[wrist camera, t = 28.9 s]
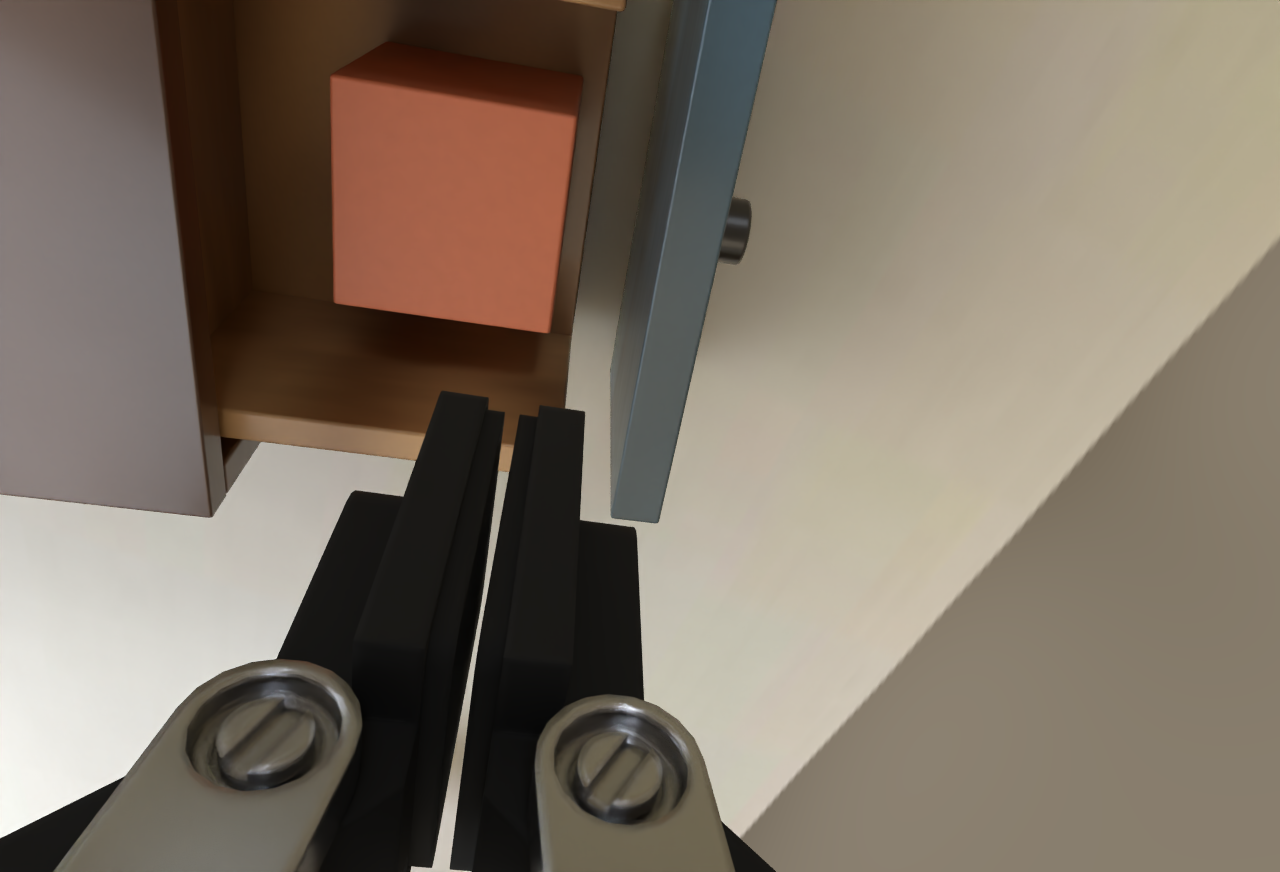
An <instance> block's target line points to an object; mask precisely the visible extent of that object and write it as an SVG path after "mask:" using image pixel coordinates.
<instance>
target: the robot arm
mask: <svg viewBox="0 0 1280 872" xmlns="http://www.w3.org/2000/svg"><path fill="white" fill-rule="evenodd" d="M488 404H489V397H483V396H476V395H470V394H463V393H456V392H449V391H441V392H440V395H439V397H438V400H437V403H436V406H435V409H434V412H433V414H432V417H431V420H430V423H429V426H428V429H427V431H426V434H425V437H424V440H423V443H422V446H421V449H420V451H419V454H418V457H417V460H416V463H415V466H414V468H413V471H412V474H411V477H410V480H409V483H408V485H407V488H406V491H405V494H404V497H401V496H393V495H386V494H378V493H371V492H363V491H356V490H355V491H354V492H352V493H351V494H350V496H349V498H348V500H347V502H346V504H345V506H344V508H343V511H342V513H341V515H340V517H339V520H338V522H337V524H336V526H335V529H334V531H333V533H332V535H331V538H330V540H329V542H328V544H327V546H326V549H325V551H324V553H323V555H322V558H321V560H320V562H319V564H318V567H317V569H316V571H315V573H314V576H313V578H312V580H311V582H310V585H309V587H308V589H307V591H306V594H305V596H304V598H303V600H302V603H301V605H300V607H299V609H298V612H297V614H296V616H295V618H294V621H293V623H292V625H291V627H290V630H289V632H288V634H287V636H286V639H285V641H284V643H283V645H282V648H281V650H280V652H279V654H278V656H277V659H275V660H266V661H258V662H251V663H248V664H245V665H242V666H239V667H236V668H233V669H230V670H227V671H224V672H222V673H221V674H219V675H217V676H216V677H214V678H212V679H211V680H209V681H207V682H206V683H204V684H202V685H201V686H199V687H197V688H196V689H195V690H194V691H193V692H192V693H191V694H190V695H189V696H188V697H187V698H186V699H185V700H184V701H183V702H182V703H181V704H180V705H179V706H178V707H177V709H176V710H175V711H174V713H173V714H172V715H171V716H170V718H169V719H168V720H167V722H166V723H165V724H164V726H163V727H162V728H161V730H160V731H159V732H158V734H157V735H156V736H155V738H154V739H153V740H152V742H151V743H150V744H149V746H148V747H147V748H146V750H145V751H144V752H143V754H142V755H141V756H140V757H139V759H138V760H137V761H136V763H135V764H134V765H133V767H132V768H131V769H130V771H129V772H128V773H127V775H126V776H125V777H123V778H121V779H119V780H117V781H115V782H113V783H111V784H109V785H107V786H105V787H103V788H101V789H99V790H97V791H95V792H93V793H91V794H89V795H87V796H85V797H83V798H81V799H79V800H77V801H75V802H73V803H71V804H69V805H67V806H65V807H63V808H61V809H59V810H57V811H55V812H53V813H51V814H49V815H47V816H45V817H43V818H41V819H38V820H36V821H34V822H32V823H30V824H28V825H26V826H24V827H22V828H20V829H18V830H16V831H14V832H12V833H10V834H8V835H6V836H4V837H2V838H0V872H410V870H411V866H415V867H427V868H432V865H433V861H434V856H435V851H436V845H437V840H438V835H439V829H440V824H441V818H442V813H443V808H444V802H445V797H446V791H447V786H448V781H449V775H450V770H451V764H452V759H453V754H454V748H455V743H456V738H457V732H458V727H459V721H460V716H461V711H462V705H463V700H464V694H465V689H466V684H467V678H468V673H469V667H470V662H471V657H472V651H473V646H474V640H475V635H476V630H477V624H478V619H479V613H480V607H481V601H482V595H483V588H484V580H485V572H486V564H487V556H488V548H489V540H490V532H491V524H492V516H493V508H494V500H495V492H496V484H497V476H498V467H499V459H500V451H501V443H502V435H503V427H504V419H505V412H501V411H495V410H488ZM584 424H585V412H584V411H577V410H571V409H564V408H557V407H550V406H544V405H540V406H539V412H538V417H535V416H529V415H522V414H520V415H519V420H518V426H517V432H516V437H515V443H514V448H513V454H512V460H511V465H510V471H509V476H508V482H507V487H506V493H505V499H504V504H503V510H502V515H501V521H500V527H499V532H498V538H497V543H496V549H495V554H494V560H493V566H492V571H491V577H490V582H489V588H488V594H487V599H486V605H485V610H484V616H483V621H482V627H481V633H480V639H479V645H478V652H477V658H476V665H475V672H474V680H473V687H472V695H471V703H470V711H469V719H468V727H467V735H466V743H465V751H464V759H463V767H462V775H461V783H460V791H459V799H458V807H457V815H456V823H455V831H454V839H453V847H452V855H451V863H450V869H452V870H464V871H472V872H776V871H775V870H774V869H773V868H772V867H770V866H769V865H768V864H767V863H766V862H765V861H764V860H763V859H762V858H761V857H760V856H759V855H757V854H756V853H755V852H754V851H753V850H752V849H751V848H750V847H749V846H748V845H747V844H745V843H744V842H743V841H742V840H741V839H740V838H739V837H738V836H737V835H736V834H735V833H734V832H732V831H731V830H730V829H729V828H728V827H727V826H726V825H725V824H724V823H723V822H722V821H721V819H720V815H719V811H718V808H717V804H716V801H715V797H714V794H713V790H712V786H711V783H710V779H709V776H708V772H707V768H706V765H705V761H704V759H703V756H702V754H701V752H700V750H699V748H698V746H697V743H696V741H695V739H694V738H693V736H692V735H691V734H690V733H689V732H688V731H687V729H686V728H685V727H684V726H683V725H682V724H681V723H680V721H679V720H678V719H676V718H675V717H673V716H672V715H670V714H669V713H667V712H666V711H664V710H663V709H661V708H660V707H658V706H657V705H654V704H651V703H649V702H646V701H644V689H643V666H642V643H641V619H640V596H639V573H638V550H637V535H636V530H635V528H634V527H627V526H620V525H612V524H605V523H597V522H590V521H582V520H580V505H581V484H582V464H583V444H584Z"/></svg>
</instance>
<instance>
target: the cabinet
mask: <svg viewBox="0 0 1280 872" xmlns="http://www.w3.org/2000/svg"><path fill="white" fill-rule="evenodd" d="M259 444H260V441H252V440H244V439H235V438H227V437H220V429H219V419H218V409H217V398H216V388H215V378H214V368H213V358H212V348H211V338H210V328H209V318H208V308H207V298H206V288H205V278H204V268H203V258H202V248H201V238H200V228H199V218H198V207H197V197H196V187H195V177H194V167H193V157H192V147H191V137H190V127H189V117H188V107H187V97H186V87H185V77H184V67H183V57H182V47H181V37H180V27H179V17H178V6H177V0H0V494H2V495H11V496H20V497H29V498H38V499H47V500H56V501H65V502H74V503H83V504H92V505H101V506H110V507H118V508H127V509H136V510H145V511H154V512H163V513H172V514H181V515H190V516H199V517H208V518H210V517H213V515H214V514H215V512H216V511H217V509H218V507H219V506H220V504H221V503H222V501H223V500H224V498H225V497H226V493H228V491H229V490H230V488H231V487H232V485H233V484H234V482H235V480H236V479H237V477H238V476H239V474H240V473H241V471H242V470H243V468H244V467H245V465H246V464H247V462H248V461H249V459H250V458H251V456H252V454H253V453H254V451H255V450H256V448H257V447H258V445H259Z"/></svg>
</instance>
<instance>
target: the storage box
mask: <svg viewBox="0 0 1280 872" xmlns="http://www.w3.org/2000/svg"><path fill="white" fill-rule="evenodd" d="M626 3H627V0H177V6H178V17H179V27H180V37H181V47H182V57H183V67H184V77H185V87H186V97H187V107H188V117H189V127H190V137H191V147H192V157H193V167H194V177H195V187H196V197H197V207H198V218H199V228H200V238H201V248H202V258H203V268H204V278H205V288H206V298H207V308H208V318H209V328H210V338H211V348H212V358H213V368H214V378H215V388H216V398H217V409H218V419H219V429H220V437H227V438H235V439H244V440H252V441H260V442H268V443H276V444H284V445H293V446H301V447H309V448H317V449H325V450H334V451H342V452H350V453H358V454H366V455H374V456H383V457H391V458H399V459H407V460H415V461H416V460H417V457H418V454H419V451H420V449H421V446H422V443H423V440H424V437H425V434H426V431H427V429H428V426H429V423H430V420H431V417H432V414H433V412H434V409H435V406H436V403H437V400H438V397H439V395H440V392H441V391H449V392H456V393H463V394H470V395H476V396H483V397H489V404H488V410H495V411H501V412H505V419H504V427H503V435H502V443H501V451H500V459H499V467H498V471H505V472H509V471H510V465H511V460H512V454H513V448H514V443H515V437H516V432H517V426H518V420H519V415H520V414H522V415H529V416H535V417H538V412H539V406H540V405H544V406H550V407H557V408H564V409H565V405H566V394H567V382H568V371H569V360H570V349H571V337H572V330H573V323H574V316H575V309H576V302H577V295H578V287H579V280H580V273H581V266H582V259H583V252H584V245H585V238H586V231H587V223H588V216H589V209H590V202H591V195H592V188H593V181H594V174H595V167H596V160H597V152H598V145H599V138H600V131H601V124H602V117H603V110H604V103H605V96H606V88H607V81H608V74H609V67H610V60H611V53H612V46H613V39H614V32H615V25H616V17H617V11H619V12H621V11H624V9H625V8H626ZM776 3H777V0H673V5H672V11H671V17H670V23H669V29H668V35H667V40H666V46H665V52H664V58H663V64H662V70H661V76H660V82H659V87H658V93H657V99H656V105H655V111H654V117H653V123H652V129H651V134H650V140H649V146H648V152H647V158H646V164H645V170H644V176H643V181H642V187H641V193H640V199H639V205H638V211H637V217H636V222H635V228H634V234H633V240H632V246H631V252H630V258H629V264H628V269H627V275H626V281H625V287H624V293H623V299H622V305H621V311H620V316H619V322H618V328H617V334H616V340H615V346H614V352H613V358H612V363H611V369H610V385H611V517H612V518H615V519H624V520H632V521H641V522H649V523H658V522H659V519H660V514H661V510H662V506H663V501H664V497H665V492H666V488H667V483H668V479H669V475H670V470H671V466H672V461H673V457H674V453H675V448H676V444H677V439H678V435H679V431H680V426H681V422H682V417H683V413H684V408H685V404H686V400H687V395H688V391H689V386H690V382H691V378H692V373H693V369H694V364H695V360H696V356H697V351H698V347H699V342H700V338H701V333H702V329H703V325H704V320H705V316H706V311H707V307H708V303H709V298H710V294H711V289H712V285H713V281H714V276H715V272H716V267H717V263H718V262H720V263H726V264H733V265H736V264H739V263H740V261H741V260H742V258H743V256H744V253H745V250H746V247H747V243H748V239H749V234H750V228H751V217H752V211H751V204H750V202H749V201H748V200H746V199H741V198H735V197H733V192H734V188H735V183H736V179H737V175H738V170H739V166H740V161H741V157H742V153H743V148H744V144H745V139H746V135H747V131H748V126H749V122H750V117H751V113H752V108H753V104H754V100H755V95H756V91H757V86H758V82H759V78H760V73H761V69H762V64H763V60H764V56H765V51H766V47H767V42H768V38H769V33H770V29H771V25H772V20H773V16H774V11H775V7H776ZM384 42H393V43H399V44H404V45H410V46H416V47H421V48H427V49H433V50H438V51H444V52H450V53H455V54H461V55H467V56H472V57H478V58H484V59H489V60H495V61H500V62H506V63H512V64H517V65H523V66H529V67H534V68H540V69H546V70H551V71H557V72H563V73H568V74H574V75H580V76H582V77H583V79H584V81H583V89H582V97H581V105H580V113H579V121H578V128H577V136H576V144H575V152H574V160H573V168H572V175H571V183H570V191H569V199H568V207H567V215H566V222H565V230H564V238H563V246H562V254H561V261H560V269H559V276H558V283H557V290H556V297H555V304H554V312H553V319H552V326H551V331H550V333H540V332H533V331H526V330H519V329H512V328H505V327H498V326H491V325H483V324H476V323H469V322H462V321H455V320H448V319H441V318H434V317H427V316H420V315H413V314H406V313H399V312H392V311H385V310H378V309H371V308H364V307H357V306H349V305H342V304H336V303H334V300H333V244H332V184H331V124H330V75H331V74H332V73H334V72H336V71H337V70H339V69H341V68H342V67H344V66H346V65H347V64H349V63H351V62H352V61H354V60H356V59H357V58H359V57H361V56H363V55H364V54H366V53H368V52H369V51H371V50H373V49H374V48H376V47H378V46H379V45H381V44H383V43H384Z"/></svg>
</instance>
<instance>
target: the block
mask: <svg viewBox="0 0 1280 872" xmlns="http://www.w3.org/2000/svg"><path fill="white" fill-rule="evenodd" d="M583 81H584V79H583V77H582V76H580V75H574V74H568V73H563V72H557V71H551V70H546V69H540V68H534V67H529V66H523V65H517V64H512V63H506V62H500V61H495V60H489V59H484V58H478V57H472V56H467V55H461V54H455V53H450V52H444V51H438V50H433V49H427V48H421V47H416V46H410V45H404V44H399V43H393V42H384V43H383V44H381V45H379V46H378V47H376V48H374V49H373V50H371V51H369V52H368V53H366V54H364V55H363V56H361V57H359V58H357V59H356V60H354V61H352V62H351V63H349V64H347V65H346V66H344V67H342V68H341V69H339V70H337V71H336V72H334V73H332V74H331V75H330V124H331V184H332V244H333V300H334V303H336V304H342V305H349V306H357V307H364V308H371V309H378V310H385V311H392V312H399V313H406V314H413V315H420V316H427V317H434V318H441V319H448V320H455V321H462V322H469V323H476V324H483V325H491V326H498V327H505V328H512V329H519V330H526V331H533V332H540V333H550V331H551V326H552V319H553V312H554V304H555V297H556V290H557V283H558V276H559V269H560V261H561V254H562V246H563V238H564V230H565V222H566V215H567V207H568V199H569V191H570V183H571V175H572V168H573V160H574V152H575V144H576V136H577V128H578V121H579V113H580V105H581V97H582V89H583Z"/></svg>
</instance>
